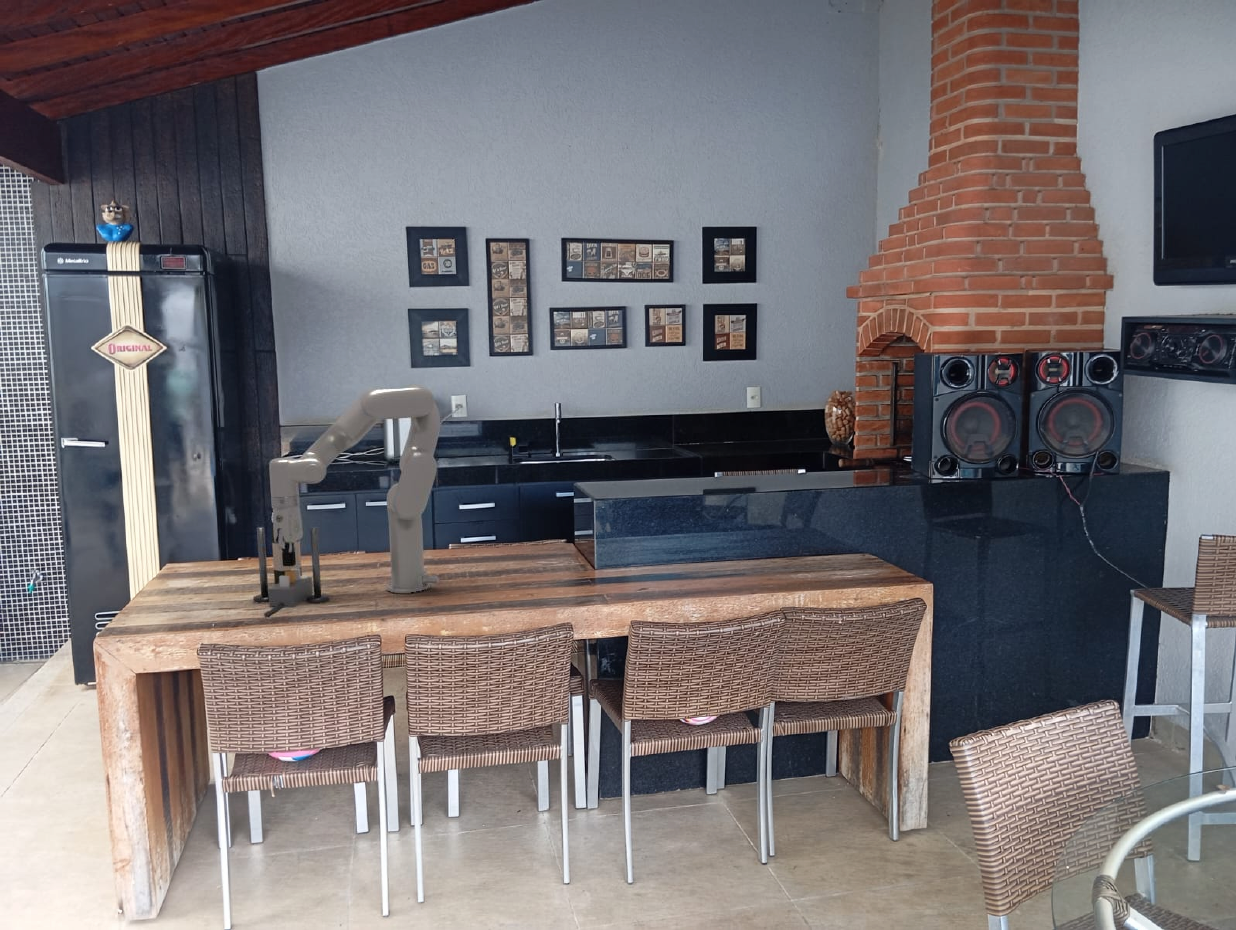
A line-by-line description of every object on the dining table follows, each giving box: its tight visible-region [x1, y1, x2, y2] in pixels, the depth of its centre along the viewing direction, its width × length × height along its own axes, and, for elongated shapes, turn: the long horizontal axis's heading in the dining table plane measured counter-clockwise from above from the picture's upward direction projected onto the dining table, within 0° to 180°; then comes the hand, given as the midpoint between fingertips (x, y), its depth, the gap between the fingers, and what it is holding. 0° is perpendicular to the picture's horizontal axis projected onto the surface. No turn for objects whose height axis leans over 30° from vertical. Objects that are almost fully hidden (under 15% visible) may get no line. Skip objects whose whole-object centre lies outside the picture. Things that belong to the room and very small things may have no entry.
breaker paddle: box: [285, 571, 295, 583], centre depth 306 cm, size 2×1×3 cm, turn 84°
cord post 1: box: [252, 526, 269, 603], centre depth 306 cm, size 6×6×21 cm
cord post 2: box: [305, 526, 331, 604], centre depth 305 cm, size 6×6×21 cm
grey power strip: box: [263, 569, 314, 618], centre depth 302 cm, size 7×24×8 cm, turn 174°
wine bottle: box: [271, 526, 303, 584], centre depth 328 cm, size 8×8×30 cm
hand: (289, 565), depth 306 cm, fingers closed
